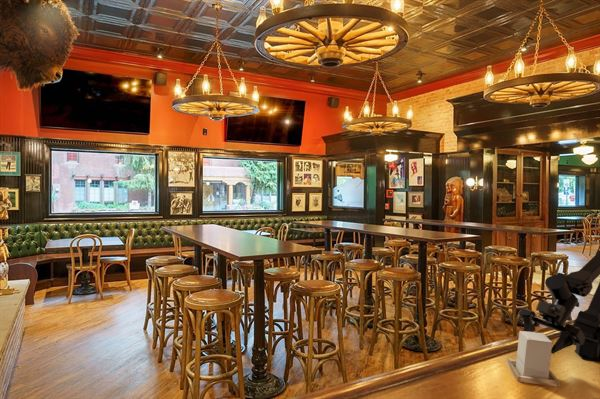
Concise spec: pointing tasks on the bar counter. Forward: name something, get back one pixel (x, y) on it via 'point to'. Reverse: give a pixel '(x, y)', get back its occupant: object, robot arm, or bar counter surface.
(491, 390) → the bar counter surface
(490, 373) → the bar counter surface
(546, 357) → the supplement box
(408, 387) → the bar counter surface
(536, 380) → the tray rim
